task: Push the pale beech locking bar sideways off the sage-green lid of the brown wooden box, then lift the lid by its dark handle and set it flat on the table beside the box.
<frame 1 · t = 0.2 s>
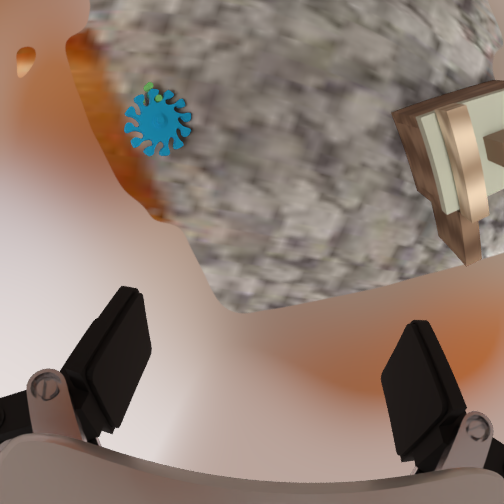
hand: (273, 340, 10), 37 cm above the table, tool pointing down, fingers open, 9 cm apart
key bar: (465, 163, 28), point 12 cm above the table, slide at 0.0 cm
lid: (491, 141, 29), point 9 cm above the table, touching brown wooden box
blue spiky virus toy: (167, 116, 41), on the table
brown wooden box: (460, 131, 37), on the table
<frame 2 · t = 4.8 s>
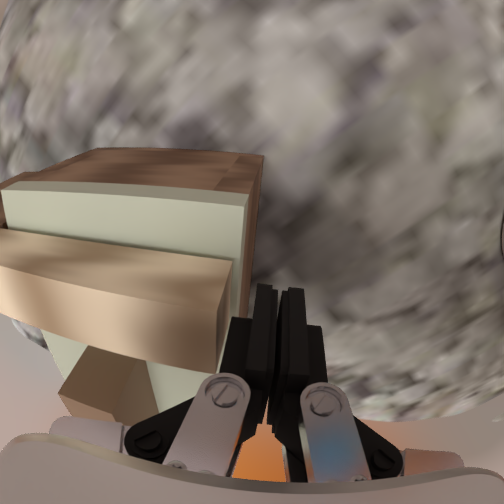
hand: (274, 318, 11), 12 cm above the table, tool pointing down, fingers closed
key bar: (65, 286, 11), point 12 cm above the table, slide at 0.7 cm, touching gripper
lid: (134, 353, 18), point 9 cm above the table, touching brown wooden box
brown wooden box: (174, 278, 26), on the table
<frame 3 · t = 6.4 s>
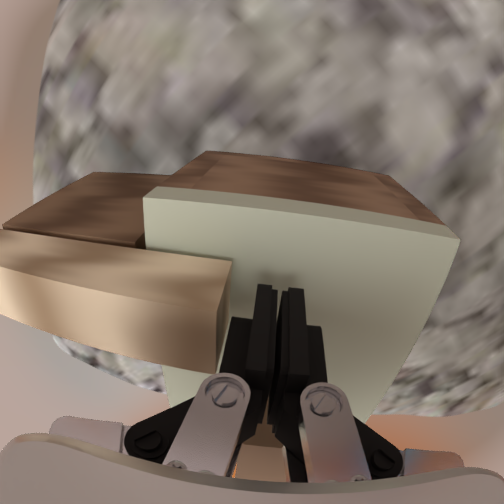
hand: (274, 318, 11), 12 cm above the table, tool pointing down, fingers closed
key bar: (64, 287, 11), point 12 cm above the table, slide at 9.8 cm, touching gripper
lid: (276, 378, 17), point 9 cm above the table, touching brown wooden box
brown wooden box: (280, 293, 25), on the table
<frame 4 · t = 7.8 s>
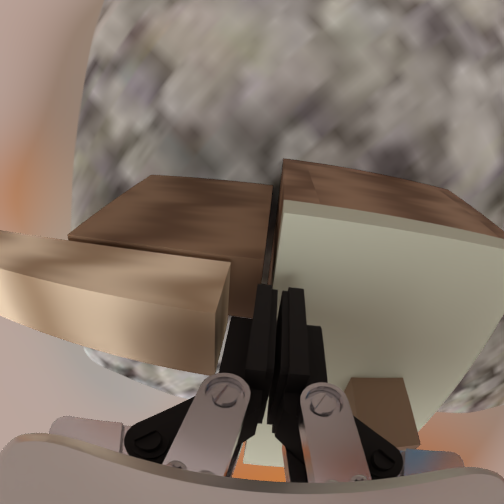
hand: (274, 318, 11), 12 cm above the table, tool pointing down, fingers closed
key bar: (63, 288, 11), point 13 cm above the table, slide at 15.2 cm, touching gripper
lid: (359, 384, 17), point 9 cm above the table, touching brown wooden box
brown wooden box: (342, 300, 25), on the table
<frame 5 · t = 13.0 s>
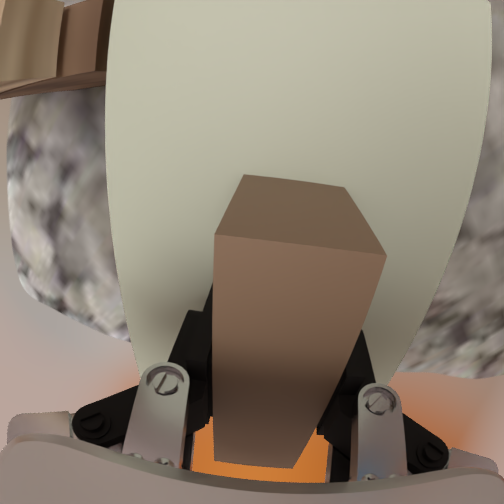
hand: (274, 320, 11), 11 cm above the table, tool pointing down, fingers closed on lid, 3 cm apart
lid: (284, 232, 12), point 9 cm above the table, touching gripper, brown wooden box
brown wooden box: (283, 176, 20), on the table
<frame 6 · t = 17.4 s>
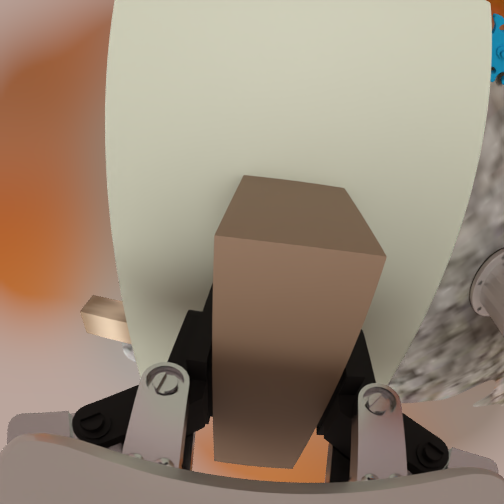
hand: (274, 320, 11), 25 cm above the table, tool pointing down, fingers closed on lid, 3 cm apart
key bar: (146, 326, 29), point 13 cm above the table, slide at 15.4 cm
lid: (284, 233, 12), point 23 cm above the table, touching gripper
blue spiky virus toy: (488, 55, 23), on the table
when the fingers open (4 cm above the table, at t = 21.8 s): lid drops 2 cm, on the table.
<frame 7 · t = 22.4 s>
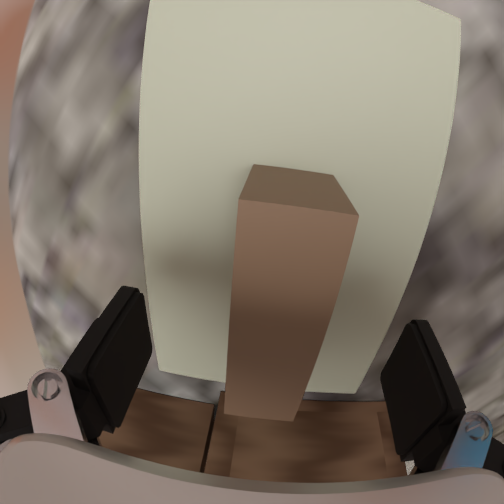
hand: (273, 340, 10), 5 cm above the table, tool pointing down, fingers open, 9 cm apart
lid: (285, 213, 14), on the table
brown wooden box: (285, 457, 25), on the table
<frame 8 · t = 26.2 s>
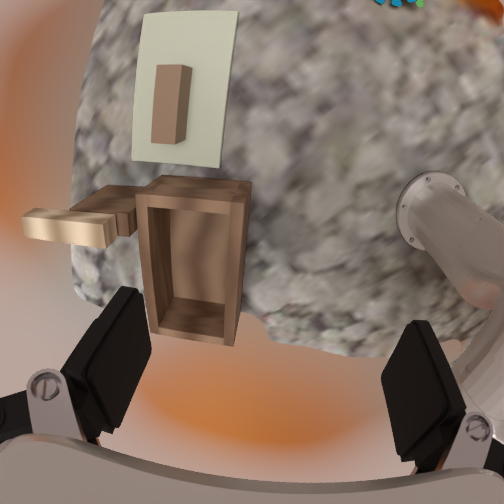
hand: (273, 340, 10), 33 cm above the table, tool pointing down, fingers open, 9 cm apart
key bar: (65, 226, 33), point 12 cm above the table, slide at 15.4 cm
lid: (182, 85, 36), on the table
brown wooden box: (203, 247, 47), on the table
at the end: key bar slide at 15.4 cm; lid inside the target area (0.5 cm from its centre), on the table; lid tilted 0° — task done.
